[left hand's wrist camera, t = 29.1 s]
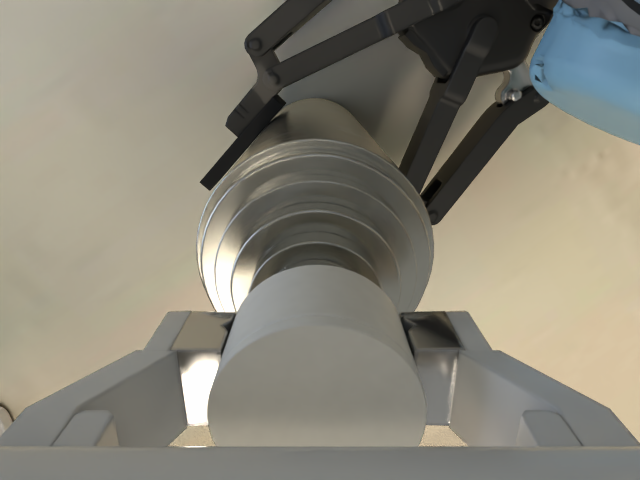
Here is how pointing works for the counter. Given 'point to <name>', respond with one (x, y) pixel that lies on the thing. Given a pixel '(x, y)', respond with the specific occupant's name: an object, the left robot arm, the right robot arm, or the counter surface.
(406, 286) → the silver ridged cylinder
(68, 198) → the counter surface
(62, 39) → the counter surface
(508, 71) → the right robot arm
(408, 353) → the cap
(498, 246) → the counter surface
